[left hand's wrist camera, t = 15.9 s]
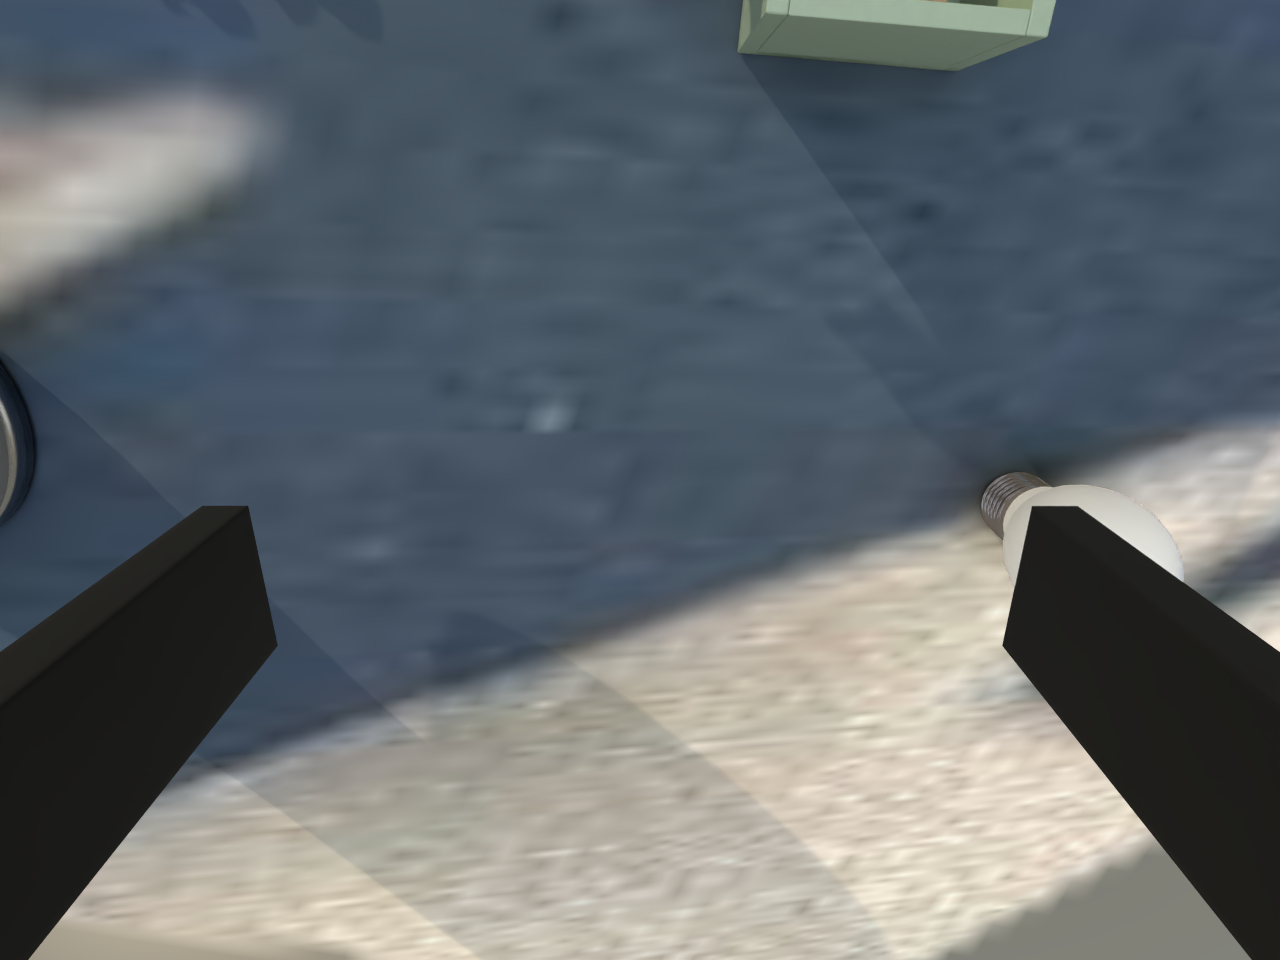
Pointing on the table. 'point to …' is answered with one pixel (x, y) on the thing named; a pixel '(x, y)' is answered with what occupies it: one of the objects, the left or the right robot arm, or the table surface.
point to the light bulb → (1124, 516)
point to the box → (893, 30)
